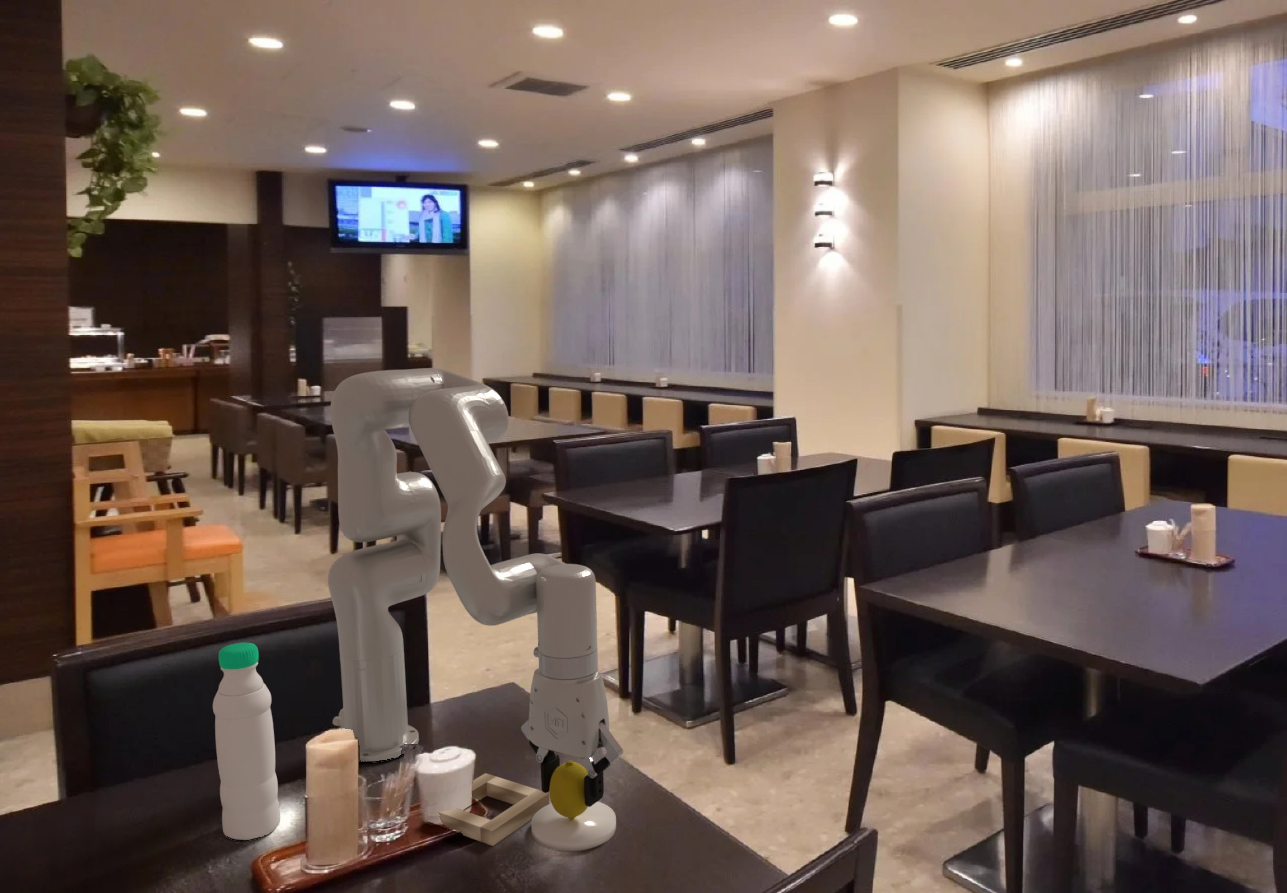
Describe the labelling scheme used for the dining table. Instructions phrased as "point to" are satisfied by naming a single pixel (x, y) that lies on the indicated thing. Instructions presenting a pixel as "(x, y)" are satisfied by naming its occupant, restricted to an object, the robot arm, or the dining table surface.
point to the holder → (504, 823)
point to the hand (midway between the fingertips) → (572, 793)
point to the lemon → (568, 789)
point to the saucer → (574, 828)
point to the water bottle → (245, 746)
